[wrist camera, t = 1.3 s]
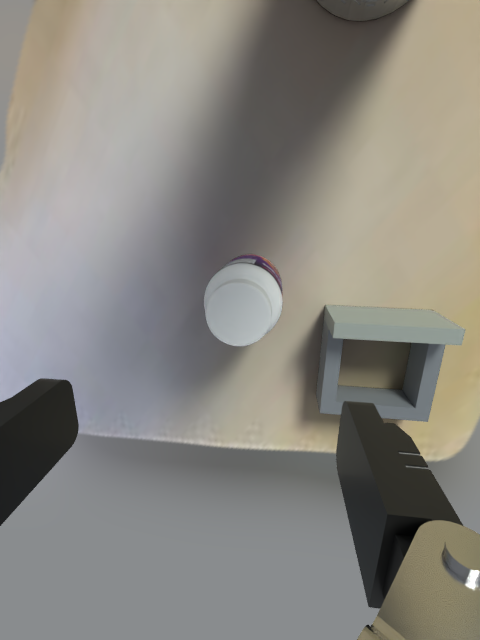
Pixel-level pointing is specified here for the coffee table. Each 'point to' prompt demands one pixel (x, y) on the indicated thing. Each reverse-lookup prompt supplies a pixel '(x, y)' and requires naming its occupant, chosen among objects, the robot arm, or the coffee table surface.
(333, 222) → the coffee table surface
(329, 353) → the dock
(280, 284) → the pill bottle
